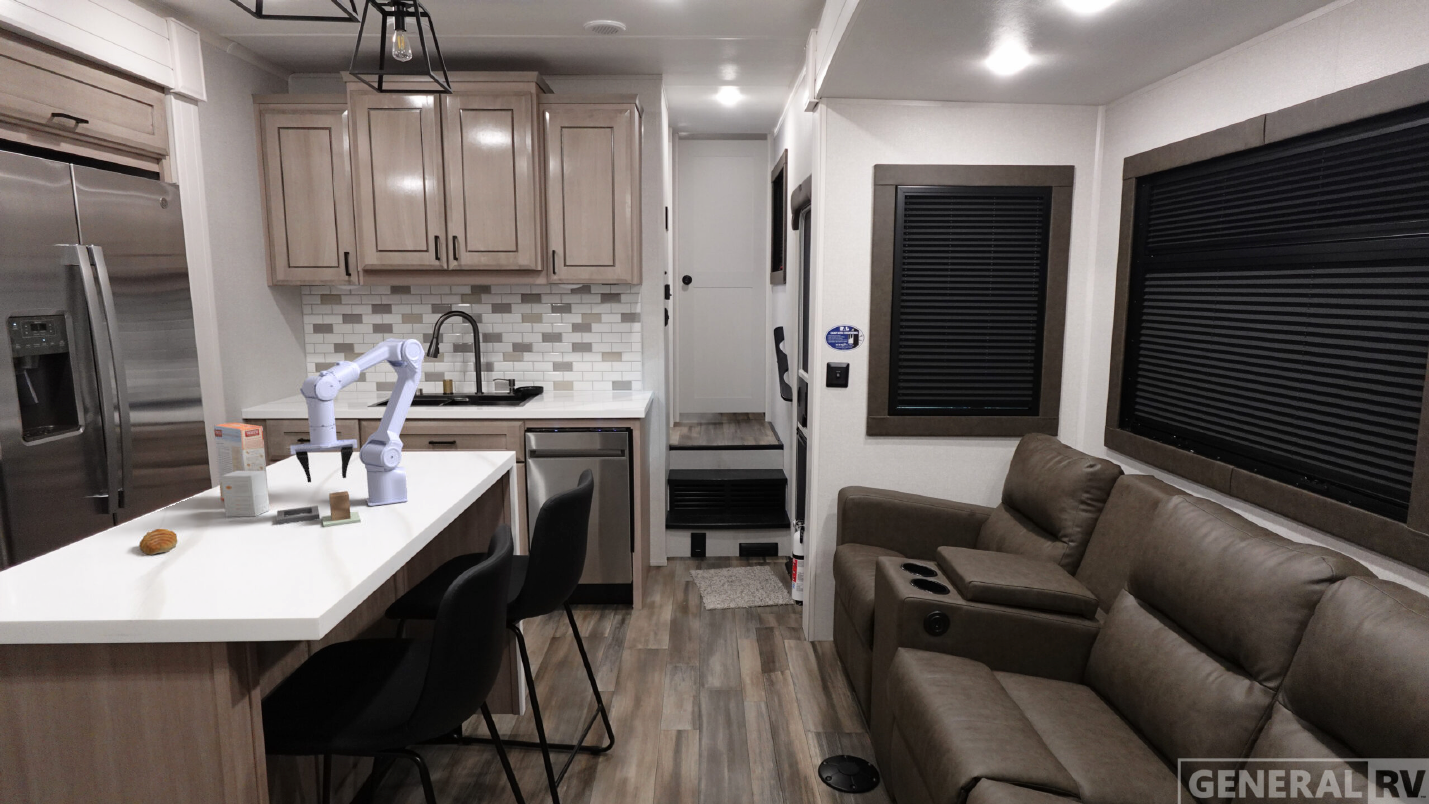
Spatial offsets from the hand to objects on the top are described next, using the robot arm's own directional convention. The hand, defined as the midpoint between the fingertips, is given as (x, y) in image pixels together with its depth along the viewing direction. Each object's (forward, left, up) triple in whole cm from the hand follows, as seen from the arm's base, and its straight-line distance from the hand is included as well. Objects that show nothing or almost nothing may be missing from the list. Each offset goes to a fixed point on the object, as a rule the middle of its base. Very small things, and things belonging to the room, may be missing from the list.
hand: (327, 479), depth 185 cm
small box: (+18, -14, -10) cm, 24 cm away
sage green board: (-2, +5, -9) cm, 11 cm away
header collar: (+7, -3, -9) cm, 12 cm away
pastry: (+33, +7, -10) cm, 36 cm away
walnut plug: (-2, +5, -9) cm, 11 cm away
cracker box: (+19, -27, -10) cm, 34 cm away
